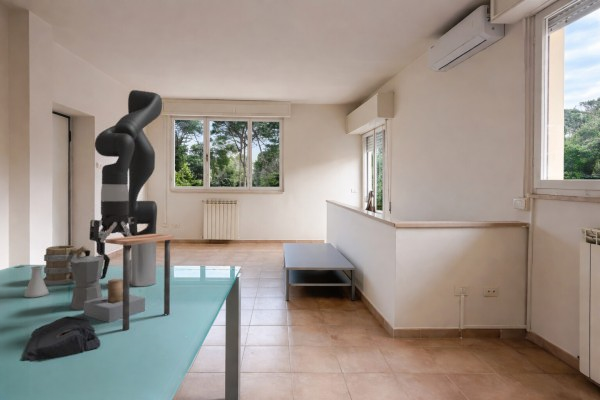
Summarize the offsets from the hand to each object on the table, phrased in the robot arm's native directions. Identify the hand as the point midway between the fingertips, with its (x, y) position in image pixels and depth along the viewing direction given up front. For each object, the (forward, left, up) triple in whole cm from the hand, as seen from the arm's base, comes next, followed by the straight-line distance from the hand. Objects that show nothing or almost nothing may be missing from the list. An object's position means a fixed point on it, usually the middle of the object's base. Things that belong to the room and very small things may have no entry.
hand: (114, 252), depth 112 cm
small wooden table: (+12, 0, -18) cm, 22 cm away
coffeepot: (-14, +1, -19) cm, 23 cm away
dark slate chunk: (+8, -19, -19) cm, 28 cm away
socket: (0, 0, -19) cm, 19 cm away
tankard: (-49, +14, -19) cm, 54 cm away
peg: (0, 0, -19) cm, 19 cm away
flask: (-40, -2, -19) cm, 44 cm away
